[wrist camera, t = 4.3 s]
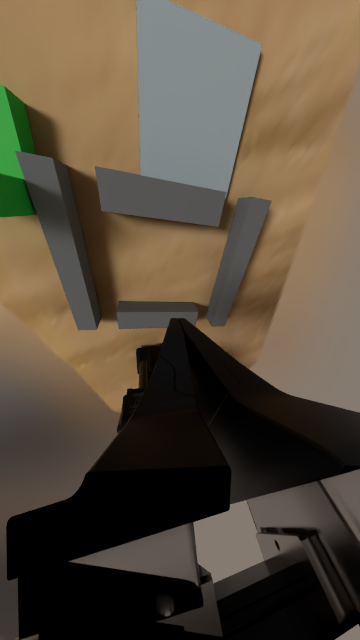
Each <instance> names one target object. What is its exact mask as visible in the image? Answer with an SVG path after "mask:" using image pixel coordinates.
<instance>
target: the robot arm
mask: <svg viewBox="0 0 360 640" xmlns="http://www.w3.org/2000/svg"><path fill="white" fill-rule="evenodd" d="M136 357H137V371H138V374H139V388H137V389H132V388H131V389H127V395H125V396H124V397H123V405H122V411H121V415H120V419H119V423H118V427H117V433H118V435H117V436H116V437H115V439H114V440H113V441H112V442H111V444H110V445H109V446H108V447H107V449H106V450H105V451H104V452H103V454H102V455H101V456H100V457H99V459H98V460H97V461H96V463H95V464H94V465H93V466H92V468H91V469H90V470H89V471H88V472H87V473H86V475H85V478H84V480H83V482H82V485H81V486H80V488H79V489H78V491H77V492H76V493H75V494H74V495H73V496H72V497H70V498H68V499H66V500H63V501H60V502H57V503H54V504H51V505H47V506H44V507H41V508H38V509H35V510H32V511H28V512H25V513H22V514H19V515H16V516H13V517H11V518H10V519H9V520H8V522H7V527H6V530H7V579H8V580H12V579H16V578H18V610H19V611H18V613H19V637H18V638H17V639H16V640H335V639H336V638H338V637H339V636H341V635H342V634H344V633H345V632H347V631H348V630H350V629H351V628H353V627H354V626H355V625H357V624H359V626H360V413H359V412H354V411H350V410H346V409H343V408H339V407H335V406H331V405H327V404H323V403H318V402H315V401H311V400H306V399H303V398H299V397H295V396H291V395H289V394H286V393H284V392H282V391H280V390H278V389H277V388H275V387H274V386H272V385H270V384H269V383H268V382H266V381H265V380H263V379H262V378H260V377H259V376H258V375H256V374H255V373H253V372H252V371H251V370H249V369H248V368H246V367H245V366H244V365H242V364H241V363H239V362H238V361H237V360H236V359H234V358H233V357H232V356H231V355H229V354H228V353H227V352H225V351H224V350H223V349H222V348H221V347H219V346H218V345H217V344H216V343H215V342H213V341H212V340H211V339H210V338H209V337H207V336H206V335H205V334H204V333H202V332H201V331H200V330H199V329H198V328H196V327H195V326H194V325H193V324H191V323H190V322H189V321H188V320H187V319H185V318H170V321H169V325H168V328H167V331H166V334H165V337H164V341H163V344H162V347H147V348H138V349H136ZM244 500H247V503H248V506H249V509H250V512H251V515H252V517H253V520H254V523H255V526H256V529H257V531H258V533H256V538H257V540H258V543H259V546H260V549H261V552H262V555H263V558H264V561H263V562H261V563H259V564H256V565H254V566H252V567H250V568H247V569H245V570H243V571H241V572H238V573H236V574H234V575H232V576H229V577H227V578H225V579H223V580H221V581H218V582H216V583H214V584H213V580H212V577H211V573H210V572H208V571H207V570H206V569H204V568H203V567H201V566H200V565H199V564H198V562H197V555H196V545H195V536H194V526H193V522H195V521H198V520H201V519H204V518H207V517H210V516H213V515H217V514H220V513H222V512H226V511H228V510H229V508H230V504H233V503H237V502H240V501H244Z"/></svg>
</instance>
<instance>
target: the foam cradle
mask: <svg viewBox="0 0 360 640" xmlns="http://www.w3.org/2000/svg"><path fill="white" fill-rule="evenodd" d="M15 153H16V156H17V159H18V161H19V164H20V167H21V170H22V173H23V176H24V178H25V181H26V184H27V187H28V190H29V192H30V195H31V198H32V201H33V204H34V207H35V209H36V212H37V215H38V218H39V221H40V223H41V226H42V229H43V232H44V235H45V238H46V240H47V243H48V246H49V249H50V252H51V255H52V257H53V260H54V263H55V266H56V269H57V271H58V274H59V277H60V280H61V283H62V286H63V288H64V291H65V294H66V297H67V300H68V302H69V305H70V308H71V311H72V314H73V317H74V319H75V322H76V325H77V328H78V330H97V328H98V325H99V323H100V320H101V313H100V309H99V304H98V300H97V296H96V291H95V287H94V282H93V278H92V273H91V269H90V264H89V260H88V255H87V251H86V246H85V242H84V237H83V233H82V228H81V224H80V219H79V215H78V210H77V206H76V201H75V197H74V192H73V188H72V184H71V179H70V175H69V170H68V166H67V165H65V164H63V163H61V162H59V161H57V160H55V159H54V158H50V157H45V156H40V155H35V154H30V153H25V152H20V151H15ZM95 170H96V177H97V184H98V191H99V198H100V204H101V211H106V212H113V213H120V214H128V215H135V216H142V217H150V218H157V219H164V220H172V221H179V222H186V223H194V224H201V225H208V226H215V227H219V223H220V219H221V214H222V210H223V206H224V201H225V197H226V193H227V192H224V191H219V190H213V189H208V188H203V187H198V186H193V185H188V184H183V183H178V182H173V181H168V180H163V179H157V178H152V177H147V176H142V175H137V174H132V173H127V172H122V171H117V170H112V169H106V168H101V167H96V166H95ZM270 204H271V201H269V200H264V199H259V198H254V197H248V198H238V202H237V205H236V209H235V213H234V216H233V220H232V224H231V227H230V231H229V235H228V238H227V242H226V245H225V249H224V253H223V256H222V260H221V264H220V267H219V271H218V275H217V278H216V282H215V286H214V289H213V293H212V297H211V300H210V304H209V308H208V311H207V315H206V317H207V319H208V321H209V322H210V324H211V326H225V323H226V321H227V318H228V315H229V313H230V310H231V307H232V305H233V302H234V299H235V297H236V294H237V291H238V289H239V286H240V284H241V281H242V278H243V276H244V273H245V270H246V268H247V265H248V262H249V260H250V257H251V254H252V252H253V249H254V246H255V244H256V241H257V239H258V236H259V233H260V231H261V228H262V225H263V223H264V220H265V217H266V215H267V212H268V209H269V207H270ZM198 313H199V312H198V310H197V308H196V306H195V304H194V302H128V301H119V304H118V308H117V319H118V326H119V329H135V328H168V325H169V321H170V318H185V319H187V320H188V321H189V322H190V323H191V324H193V325H194V326H196V321H197V317H198Z"/></svg>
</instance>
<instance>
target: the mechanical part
mask: <svg viewBox="0 0 360 640" xmlns="http://www.w3.org/2000/svg"><path fill="white" fill-rule="evenodd" d="M15 151H20V152H25V153H30V154H35V155H36V153H35V148H34V144H33V139H32V135H31V130H30V126H29V122H28V117H27V113H26V108H25V104H24V103H23V102H22V101H21V100H20V99H19V98H18V97H16V96H15V95H14V94H13V93H12V92H11V91H10V90H8V89H7V88H6V87H5V86H3V85H1V84H0V217H12V216H24V215H37V212H36V209H35V207H34V204H33V201H32V198H31V195H30V192H29V190H28V187H27V184H26V181H25V178H24V176H23V173H22V170H21V167H20V164H19V161H18V159H17V156H16V153H15Z"/></svg>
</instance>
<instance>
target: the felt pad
mask: <svg viewBox="0 0 360 640" xmlns="http://www.w3.org/2000/svg"><path fill="white" fill-rule="evenodd" d="M137 43H138V88H139V133H140V175H142V176H147V177H152V178H157V179H163V180H168V181H173V182H178V183H183V184H188V185H193V186H198V187H203V188H208V189H213V190H219V191H224V192H228V188H229V183H230V179H231V175H232V171H233V166H234V162H235V158H236V154H237V149H238V145H239V141H240V137H241V132H242V128H243V124H244V120H245V115H246V111H247V107H248V103H249V98H250V94H251V90H252V86H253V82H254V77H255V73H256V69H257V65H258V60H259V56H260V52H261V48H262V44H260V43H258V42H256V41H254V40H252V39H249V38H247V37H245V36H243V35H241V34H239V33H237V32H235V31H232V30H230V29H228V28H226V27H224V26H222V25H220V24H218V23H215V22H213V21H211V20H209V19H207V18H205V17H203V16H200V15H198V14H196V13H194V12H192V11H190V10H188V9H186V8H183V7H181V6H179V5H177V4H175V3H173V2H171V1H169V0H137ZM226 196H227V193H226ZM225 199H226V197H225Z"/></svg>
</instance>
